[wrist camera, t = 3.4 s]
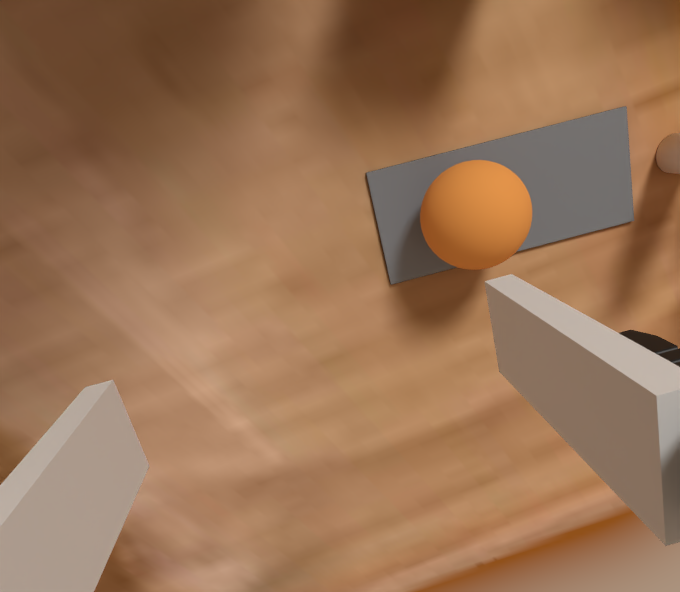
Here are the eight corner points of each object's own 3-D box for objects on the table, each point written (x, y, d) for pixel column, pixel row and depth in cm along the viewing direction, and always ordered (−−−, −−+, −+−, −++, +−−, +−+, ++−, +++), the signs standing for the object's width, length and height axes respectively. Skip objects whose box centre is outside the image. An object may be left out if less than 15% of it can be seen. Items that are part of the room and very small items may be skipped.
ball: (419, 268, 32) (448, 294, 26) (400, 172, 30) (427, 178, 24) (510, 244, 32) (559, 264, 26) (497, 148, 30) (546, 147, 24)
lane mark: (390, 283, 32) (391, 284, 32) (366, 172, 30) (366, 173, 29) (632, 220, 32) (634, 220, 32) (624, 106, 30) (626, 106, 30)
